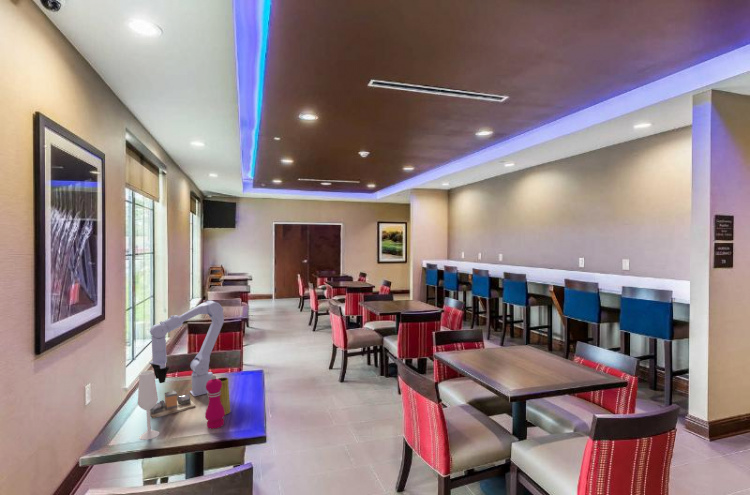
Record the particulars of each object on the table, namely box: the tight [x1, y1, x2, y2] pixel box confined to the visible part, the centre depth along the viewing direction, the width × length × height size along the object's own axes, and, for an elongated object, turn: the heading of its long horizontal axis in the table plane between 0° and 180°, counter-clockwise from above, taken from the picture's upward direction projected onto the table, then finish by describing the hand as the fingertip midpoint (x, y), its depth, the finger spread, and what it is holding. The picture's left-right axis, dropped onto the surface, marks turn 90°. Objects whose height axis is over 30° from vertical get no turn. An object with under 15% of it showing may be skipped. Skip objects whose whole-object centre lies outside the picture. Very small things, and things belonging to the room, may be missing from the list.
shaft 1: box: [150, 400, 165, 414], centre depth 176 cm, size 5×4×5 cm
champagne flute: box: [137, 370, 160, 441], centre depth 156 cm, size 7×7×24 cm
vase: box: [217, 377, 231, 416], centre depth 175 cm, size 6×6×14 cm
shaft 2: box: [177, 393, 192, 405], centre depth 184 cm, size 5×4×5 cm
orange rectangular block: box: [164, 390, 178, 409], centre depth 181 cm, size 4×4×6 cm
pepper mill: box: [204, 374, 226, 430], centre depth 163 cm, size 7×7×20 cm
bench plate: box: [150, 400, 196, 419], centre depth 181 cm, size 17×11×1 cm, turn 127°
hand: (160, 380), depth 188 cm, fingers open, 7 cm apart
